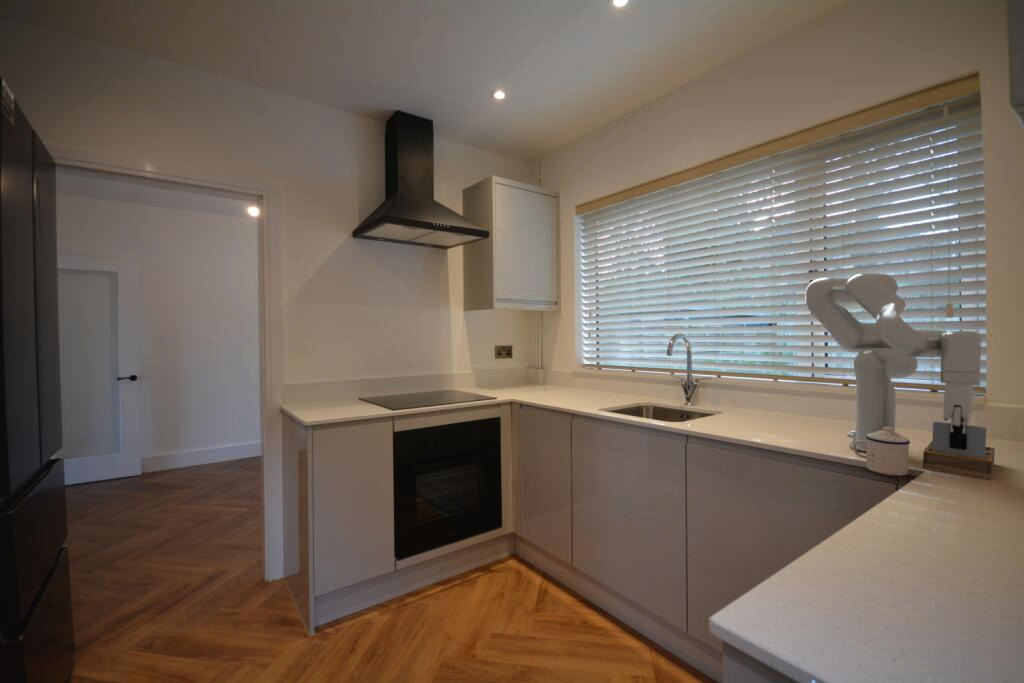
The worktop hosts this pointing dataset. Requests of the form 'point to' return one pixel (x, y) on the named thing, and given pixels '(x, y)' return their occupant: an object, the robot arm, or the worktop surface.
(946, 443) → the panel
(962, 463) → the rack
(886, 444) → the teacup with lid
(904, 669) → the worktop surface
